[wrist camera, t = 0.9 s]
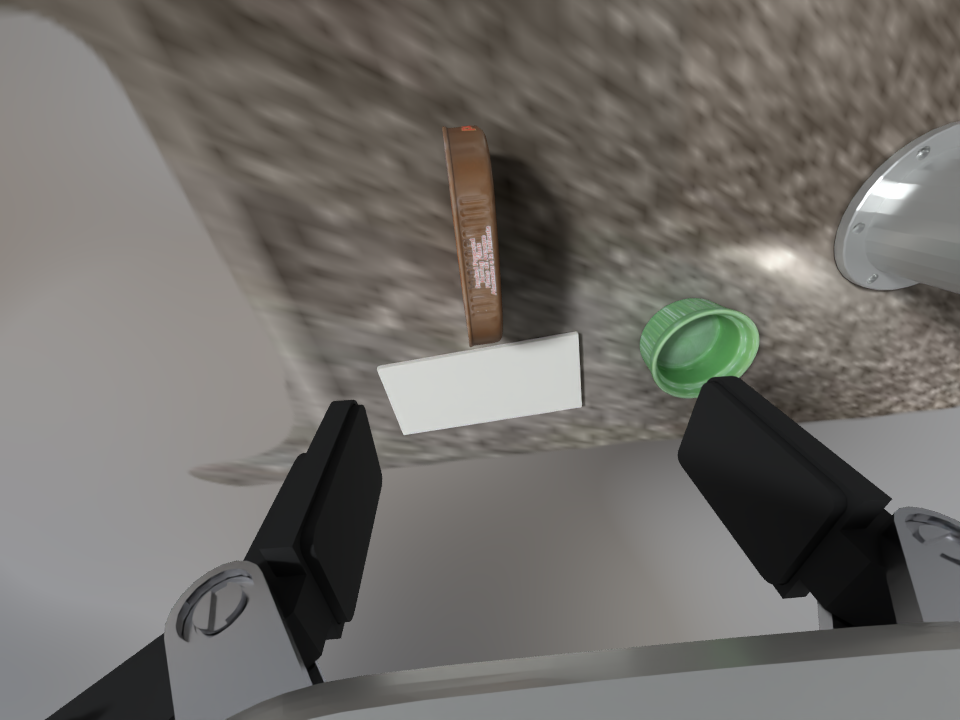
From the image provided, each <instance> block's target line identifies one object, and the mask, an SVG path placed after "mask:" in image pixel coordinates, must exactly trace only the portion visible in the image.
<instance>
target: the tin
mask: <svg viewBox="0 0 960 720" xmlns="http://www.w3.org/2000/svg"><path fill="white" fill-rule="evenodd" d="M442 130H443V138H444V147H445V160H446V167H447V175H448V181H449V189H450V198H451V206H452V215H453V222H454V230H455V238H456V247H457V255H458V263H459V271H460V278H461V286H462V292H463V301H464V309H465V315H466V322H467V329H468V337H469V345H470V347H472V346H475V345H481V344H489V343H495V342H498V341H500V340H501V338H502V332H503V314H502V294H501V278H500V261H499V246H498V233H497V220H496V208H495V194H494V184H493V175H492V166H491V160H490V154H489V148H488V143H487V140H486V136H485V134H484V132H483V131H482V130H481V129H480V128H479V127H478V126H464V127H456V128H446V127H442Z"/></svg>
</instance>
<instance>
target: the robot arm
mask: <svg viewBox="0 0 960 720" xmlns="http://www.w3.org/2000/svg"><path fill="white" fill-rule="evenodd" d="M834 250H835V260H836V263H837V267H838V269H839V270H840V272H841V273H842V275H843V276H844V277H845V278H847V279H848V280H849V281H851V282H852V283H855V284H857V285H860V286H863V287H865V288H870V289H874V290H894V289H900V288H906V287H909V286H912V285H915V284H918V283H923V284H926V285H930V286H933V287H937V288H940V289H943V290H947V291H950V292H954V293H957V294H960V121H957V122H952V123H949V124H947V125H944V126H942V127H939V128H936V129H934V130H931V131H930V132H928V133H926V134H924V135H922V136H920V137H918V138H917V139H915V140H913V141H912V142H910V143H909V144H907V145H906V146H904V147H903V148H902V149H900V150H899V151H897V152H896V153H895V154H893V155H892V156H891V157H890V158H889V159H888V160H887V161H885V162H884V163H883V164H882V165H881V166H880V167H879V168H878V169H877V170H876V171H875V172H874V173H873V174H872V175H871V176H870V177H869V178H868V180H867V181H866V182H865V183H864V184H863V185H862V187H861V188H860V189H859V191H858V192H857V194H856V195H855V196H854V198H853V199H852V200H851V202H850V204H849V206H848V208H847V209H846V211H845V213H844V215H843V217H842V220H841V222H840V225H839V228H838V230H837V234H836V240H835V245H834ZM678 460H679V462H680V464H681V466H682V467H683V469H684V470H685V471H686V473H687V474H688V475H689V477H690V478H691V479H692V481H693V482H694V484H695V485H696V486H697V488H698V489H699V491H700V492H701V493H702V495H703V496H704V498H705V499H706V500H707V502H708V503H709V504H710V506H711V507H712V509H713V510H714V511H715V513H716V514H717V516H718V517H719V518H720V520H721V521H722V522H723V524H724V525H725V526H726V528H727V529H728V530H729V532H730V533H731V535H732V536H733V538H734V539H735V540H736V542H737V543H738V544H739V546H740V547H741V549H742V550H743V551H744V553H745V554H746V555H747V557H748V558H749V560H750V561H751V562H752V564H753V565H754V566H755V568H756V569H757V571H758V572H759V573H760V575H761V576H762V577H763V578H764V580H766V581H767V582H768V583H770V584H773V586H774V587H775V589H776V590H777V591H778V593H779V594H780V595H781V597H782V598H783V599H784V598H796V597H805V596H807V594H808V593H809V592H811V593H812V595H813V596H814V597H815V598H816V599H817V604H818V618H819V630H817V631H806V632H795V633H783V634H773V635H760V636H750V637H738V638H728V639H716V640H706V641H694V642H684V643H673V644H664V645H663V644H662V645H652V646H642V647H631V648H620V649H610V650H599V651H590V652H589V651H588V652H578V653H568V654H558V655H548V656H538V657H527V658H518V659H508V660H498V661H487V662H477V663H468V664H457V665H449V666H439V667H431V668H423V669H414V670H406V671H398V672H389V673H381V674H372V675H364V676H359V677H353V678H347V679H342V680H336V681H331V682H326V680H325V677H324V675H323V673H322V671H321V668H320V666H319V664H318V661H317V659H318V658H319V657H320V656H321V655H322V652H323V648H324V644H325V640H329V639H339V638H341V635H342V631H343V627H344V623H345V622H350V621H351V620H352V618H353V615H354V611H355V607H356V602H357V598H358V593H359V589H360V584H361V579H362V574H363V570H364V565H365V561H366V556H367V551H368V547H369V542H370V537H371V533H372V529H373V524H374V519H375V514H376V510H377V505H378V501H379V496H380V491H381V487H382V473H381V469H380V465H379V461H378V457H377V453H376V449H375V445H374V442H373V438H372V434H371V430H370V426H369V422H368V418H367V414H366V410H365V407H364V405H358V404H357V402H356V400H344V401H333V402H332V403H331V404H330V406H329V408H328V410H327V412H326V414H325V416H324V418H323V420H322V422H321V424H320V426H319V428H318V430H317V432H316V434H315V436H314V438H313V440H312V442H311V444H310V447H309V449H308V451H307V453H302V454H300V455H299V456H298V457H297V459H296V460H295V462H294V464H293V466H292V467H291V469H290V471H289V473H288V475H287V477H286V479H285V481H284V483H283V485H282V487H281V489H280V491H279V493H278V495H277V496H276V498H275V500H274V502H273V504H272V506H271V508H270V510H269V512H268V514H267V516H266V518H265V520H264V522H263V524H262V526H261V528H260V529H259V532H258V533H257V535H256V537H255V539H254V541H253V543H252V545H251V547H250V549H249V551H248V553H247V555H246V557H245V559H244V560H243V561H234V562H230V563H226V564H223V565H220V566H218V567H216V568H214V569H213V570H211V571H209V572H207V573H206V574H204V575H203V576H202V577H200V578H199V579H198V580H196V581H195V582H194V583H193V584H192V585H191V586H190V587H189V588H188V589H187V590H186V591H185V592H184V593H183V594H182V595H181V596H180V598H179V599H178V601H177V602H176V604H175V605H174V606H173V608H172V609H171V611H170V614H169V616H168V619H167V621H166V623H165V632H164V633H163V634H162V635H161V636H159V637H158V638H156V639H155V640H154V641H152V642H151V643H150V644H148V645H147V646H146V647H144V648H143V649H141V650H140V651H139V652H137V653H136V654H135V655H133V656H132V657H131V658H129V659H128V660H126V661H125V662H124V663H122V664H121V665H119V666H118V667H117V668H115V669H114V670H113V671H111V672H110V673H109V674H107V675H106V676H104V677H103V678H102V679H100V680H99V681H98V682H96V683H95V684H93V685H92V686H91V687H89V688H88V689H87V690H85V691H84V692H82V693H81V694H80V695H78V696H77V697H76V698H74V699H73V700H72V701H70V702H69V703H68V704H66V705H65V706H63V707H62V708H60V709H59V710H58V711H56V712H55V713H54V714H52V715H51V716H50V717H49V718H47V719H45V720H960V522H959V521H957V520H955V519H952V518H950V517H948V516H945V515H943V514H940V513H938V512H934V511H931V510H927V509H923V508H917V507H905V508H899V509H898V510H897V511H896V512H895V513H894V514H893V515H891V514H890V513H888V512H887V511H886V510H885V509H884V508H885V506H886V505H887V504H888V503H889V502H890V501H891V500H892V498H890V497H889V496H888V495H887V494H885V493H884V492H883V491H882V490H880V489H879V488H878V487H876V486H875V485H874V484H873V483H871V482H870V481H869V480H868V479H866V478H865V477H864V476H863V475H861V474H860V473H859V472H857V471H856V470H855V469H854V468H852V467H851V466H850V465H849V464H847V463H846V462H845V461H843V460H842V459H841V458H840V457H838V456H837V455H836V454H835V453H833V452H832V451H831V450H829V449H828V448H827V447H826V446H825V445H823V444H822V443H821V442H819V441H818V440H817V439H816V438H814V437H813V436H812V435H811V434H809V433H808V432H807V431H806V430H804V429H803V428H802V427H801V426H799V425H798V424H797V423H795V422H794V421H793V420H792V419H790V418H789V417H788V416H787V415H785V414H784V413H783V412H782V411H780V410H779V409H778V408H777V407H775V406H774V405H773V404H771V403H770V402H769V401H768V400H766V399H765V398H764V397H763V396H761V395H760V394H759V393H758V392H756V391H755V390H754V389H752V388H751V387H750V386H749V385H747V384H746V383H745V382H744V381H742V380H741V379H740V378H738V377H736V376H720V377H712V378H710V379H709V380H708V381H707V383H704V384H703V385H702V387H701V390H700V392H699V395H698V398H697V401H696V404H695V406H694V409H693V412H692V415H691V417H690V420H689V423H688V426H687V428H686V431H685V434H684V437H683V439H682V442H681V445H680V448H679V450H678Z"/></svg>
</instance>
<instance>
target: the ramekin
mask: <svg viewBox="0 0 960 720" xmlns="http://www.w3.org/2000/svg"><path fill="white" fill-rule="evenodd" d="M758 348H759V333H758V330H757V327H756V325H755V324H754V322H753V321H752V320H751V319H750V318H749V317H747V316H746V315H745V314H743V313H741V312H738V311H735V310H732V309H727V308H725V307H722V306H720V305H718V304H716V303H714V302H711V301H709V300H705V299H699V298H691V299H684V300H680V301H677V302H674V303H672V304H669V305H667V306H666V307H664V308H663V309H661V310H660V311H658V312H657V313H656V314H655V315H654V316H653V317H652V318H651V319H650V321H649V322H648V323H647V325H646V326H645V328H644V330H643V332H642V335H641V339H640V352H641V355H642V358H643V360H644V361H645V363H646V365H647V366H648V368H649V369H650V371H651V374H652V377H653V379H654V381H655V383H656V384H657V385H658V387H659V388H660V389H662V390H663V391H664V392H666V393H668V394H670V395H672V396H675V397H680V398H698V395H699V392H700V390H701V387H702V385H703V384H704V383H707V381H708V380H709V379H710V378H712V377H720V376H736V377H738V378H739V377H740V376H742V375H743V373H744V372H745V371H746V370H747V369H748V368H749V366H750V365H751V364H752V362H753V360H754V358H755V356H756V354H757V351H758Z"/></svg>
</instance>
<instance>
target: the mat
mask: <svg viewBox="0 0 960 720" xmlns="http://www.w3.org/2000/svg"><path fill="white" fill-rule="evenodd" d="M377 371H378V373H379V376H380V378H381V381H382V383H383V385H384V388H385V390H386V393H387V395H388V398H389V400H390V403H391V405H392V408H393V410H394V412H395V415H396V417H397V420H398V422H399V425H400V427H401V430H402V432H403V434H404V435H407V434H414V433H420V432H426V431H433V430H439V429H445V428H452V427H458V426H465V425H471V424H477V423H484V422H490V421H496V420H503V419H509V418H515V417H522V416H528V415H534V414H541V413H547V412H553V411H560V410H566V409H573V408H579V407H582V400H581V379H580V359H579V338H578V333H577V331H575V332H570V333H564V334H558V335H553V336H547V337H541V338H535V339H530V340H524V341H518V342H513V343H507V344H501V345H495V346H490V347H484V348H478V349H473V350H467V351H461V352H455V353H450V354H444V355H438V356H433V357H427V358H421V359H415V360H410V361H404V362H398V363H393V364H387V365H381V366H378V368H377Z"/></svg>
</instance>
